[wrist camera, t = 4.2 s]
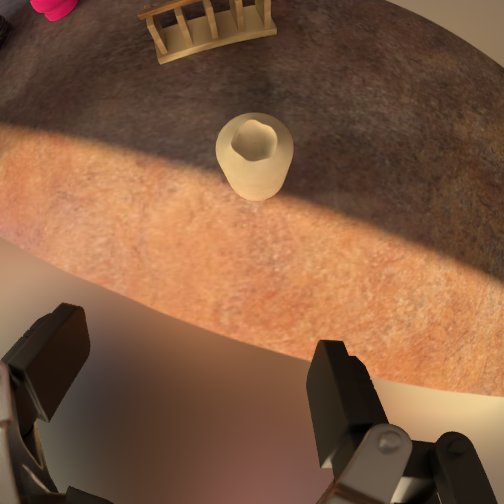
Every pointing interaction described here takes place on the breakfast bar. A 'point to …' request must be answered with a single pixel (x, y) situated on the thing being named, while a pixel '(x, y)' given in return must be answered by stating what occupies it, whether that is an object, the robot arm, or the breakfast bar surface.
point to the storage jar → (4, 31)
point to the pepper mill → (54, 7)
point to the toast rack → (206, 27)
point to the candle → (255, 154)
